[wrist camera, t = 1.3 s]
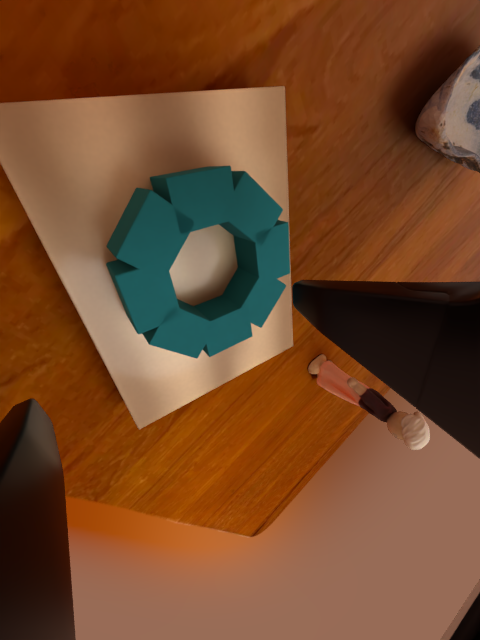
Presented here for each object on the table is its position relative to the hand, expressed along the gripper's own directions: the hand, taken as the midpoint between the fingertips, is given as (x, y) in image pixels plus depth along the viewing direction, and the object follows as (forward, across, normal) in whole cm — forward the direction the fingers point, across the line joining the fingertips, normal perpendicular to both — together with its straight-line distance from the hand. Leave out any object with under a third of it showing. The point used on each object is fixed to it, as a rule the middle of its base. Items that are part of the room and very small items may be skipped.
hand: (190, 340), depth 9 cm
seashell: (+10, -33, -4) cm, 35 cm away
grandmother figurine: (+11, -18, +20) cm, 28 cm away
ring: (+8, -4, 0) cm, 8 cm away
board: (+10, -4, +1) cm, 11 cm away
